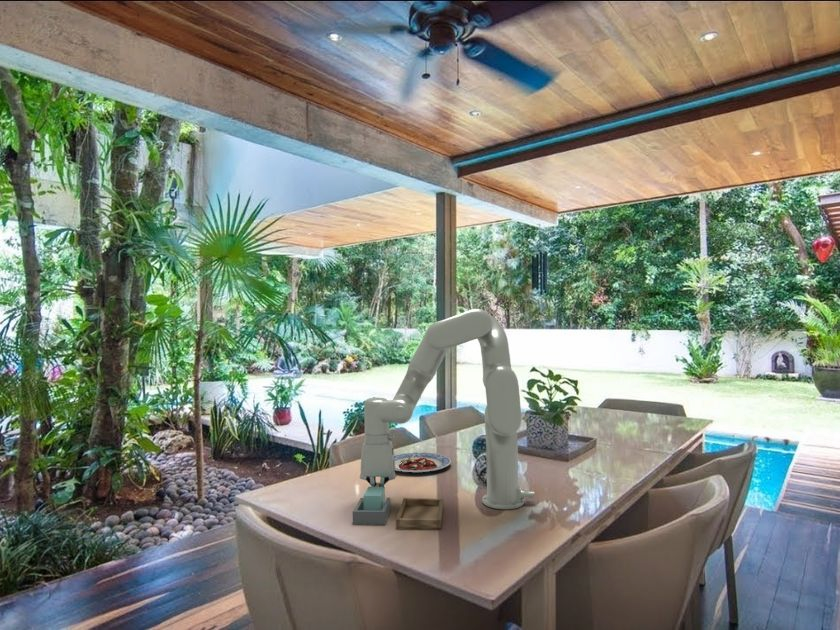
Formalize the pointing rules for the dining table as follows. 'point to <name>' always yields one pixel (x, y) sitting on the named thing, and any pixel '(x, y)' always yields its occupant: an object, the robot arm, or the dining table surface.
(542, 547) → the dining table surface
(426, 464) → the ceramic plate
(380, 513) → the bay
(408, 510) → the tray
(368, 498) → the mint green block
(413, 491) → the dining table surface
